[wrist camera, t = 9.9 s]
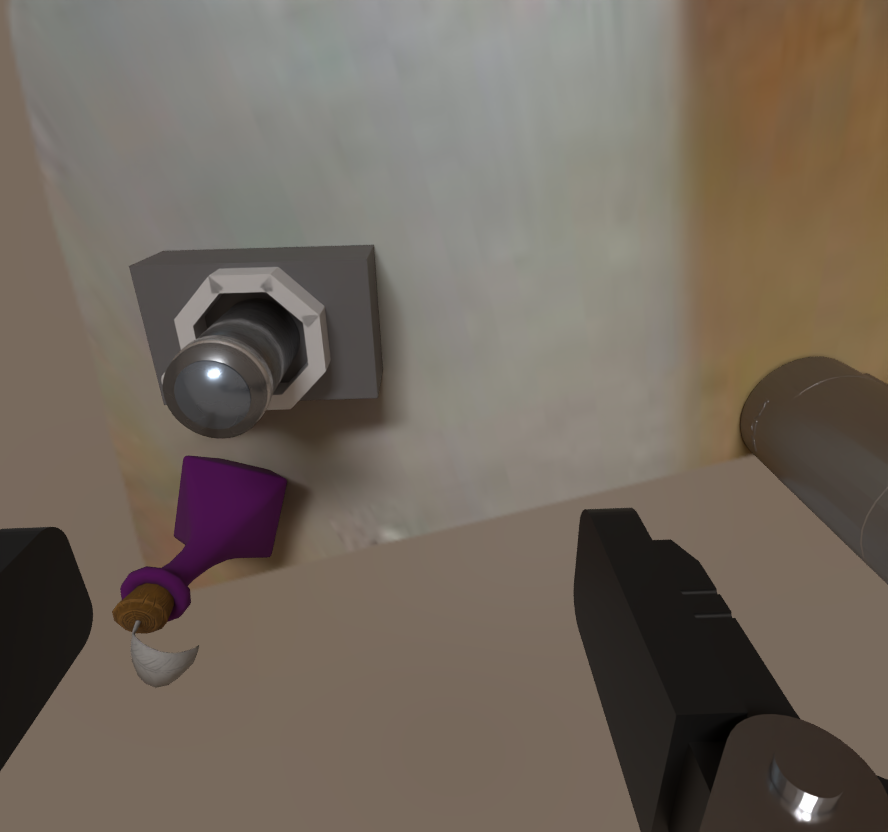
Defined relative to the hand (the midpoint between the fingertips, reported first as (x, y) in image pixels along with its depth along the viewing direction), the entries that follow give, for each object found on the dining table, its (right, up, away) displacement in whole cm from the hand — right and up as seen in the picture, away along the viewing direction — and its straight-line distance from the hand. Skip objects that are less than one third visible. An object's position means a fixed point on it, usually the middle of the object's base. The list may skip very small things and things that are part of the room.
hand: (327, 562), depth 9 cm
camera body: (-10, +9, +32) cm, 35 cm away
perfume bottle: (-14, -3, +38) cm, 41 cm away
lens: (-10, +7, +27) cm, 30 cm away
